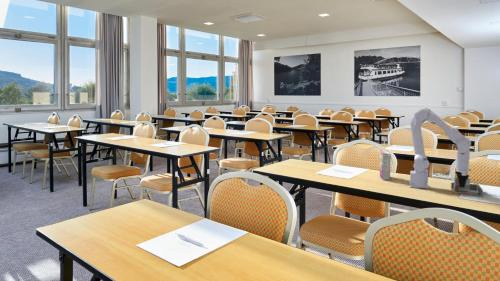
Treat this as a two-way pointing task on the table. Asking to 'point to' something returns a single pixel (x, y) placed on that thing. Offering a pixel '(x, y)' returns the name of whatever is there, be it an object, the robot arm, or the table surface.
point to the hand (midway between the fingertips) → (461, 186)
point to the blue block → (458, 188)
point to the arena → (474, 190)
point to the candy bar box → (385, 165)
